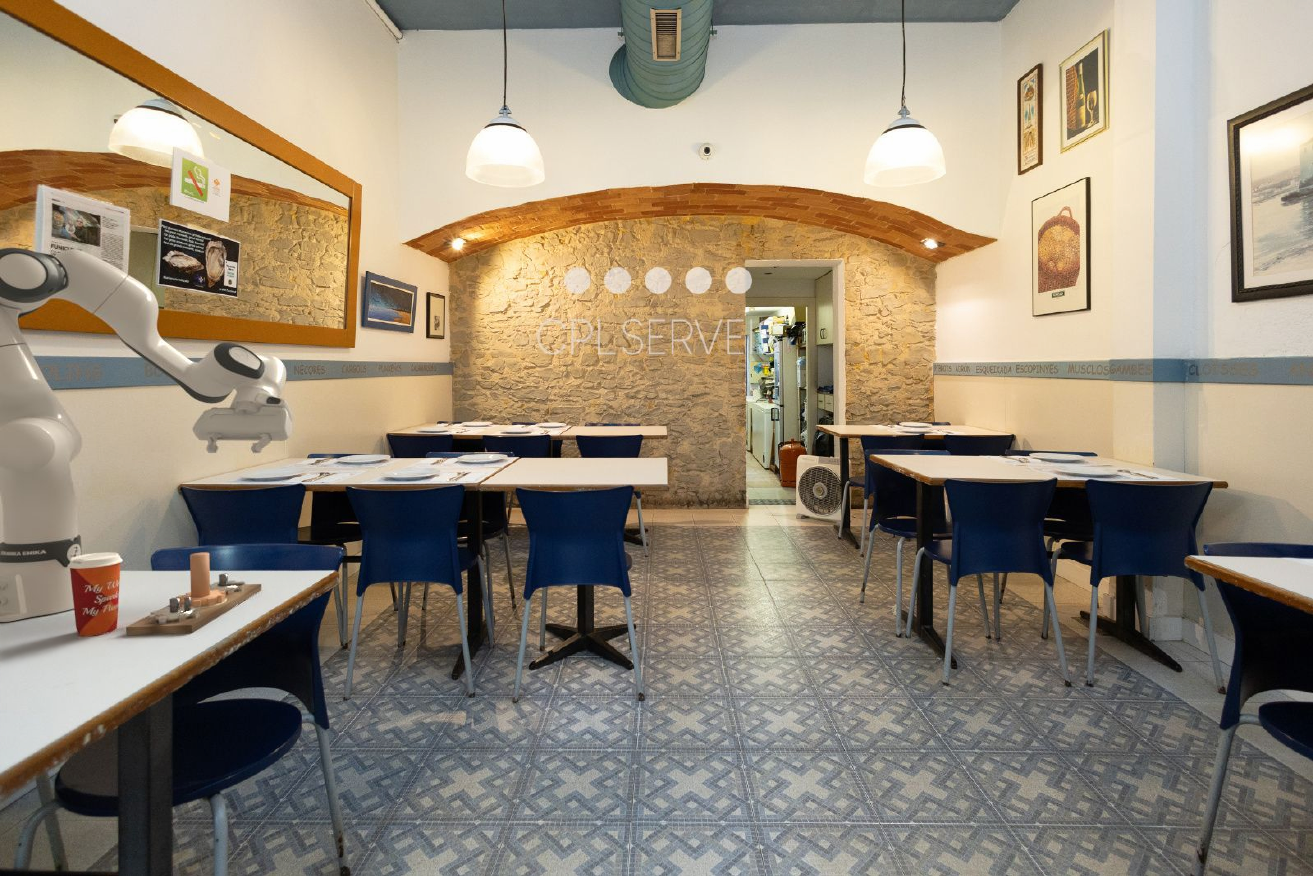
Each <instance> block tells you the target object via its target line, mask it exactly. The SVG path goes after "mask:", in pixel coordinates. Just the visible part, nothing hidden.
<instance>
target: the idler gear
mask: <svg viewBox="0 0 1313 876" xmlns="http://www.w3.org/2000/svg"><path fill="white" fill-rule="evenodd" d="M189 559H190V561H189V563H190V564H189V565H190V567H189V568H190V570H189V571H190V592H186V593H185V594H180V595H177V596H176V597H179V598H180V606H183V605H184V597H191V606H193V607H194V606H200V608H201V607H205V606H209V607H210V606H214V605H216V604H217V603H223V602H224V601H225V599H226V592H225V591H221V592H220V590H213V591H210V585H211V579H210V578H211V574H210V573H211V572H210V570H211V569H210V561H211V560H210V553H209V552H195V553H191V554H190V555H189Z"/></svg>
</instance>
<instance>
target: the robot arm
mask: <svg viewBox="0 0 1313 876" xmlns="http://www.w3.org/2000/svg"><path fill="white" fill-rule="evenodd" d="M51 299H60V300H65V301H68V302H71V303H73V304H76V305H78V306H80V307H81V308H82V309H84V310H85V311H88V312H89V313H91V314H93V315H94V316H96V317H98V318H99V319H100V320H102V321H103V322H105V324H107V325H108V326H109V327H110V328H112V329H113V330H114V332H115V333H116V334H117V336H118V339H119V340H120V341H121V342H122V343H123V344H124V345H125V346H126V347H127V348H129V349H130V350H131V351H132V352H134V353H135V354H136V355H138V356H139V357H141V358H142V359H143V360H144V361H146V362H147V363H148V364H150V365H151V366H153V367H155V368H156V369H157V370H159V371H160V372H162V373H163V374H164V375H166V376H167V377H169V378H170V379H171V380H173V381H174V382H175V383H177V384H178V386H180V387H181V388H182V389H183V391H184V392H185V393H187V394H188V395H189V396H190V397H191V398H192V399H195V400H196V401H198V402H201V403H205V404H210V405H211V404H212V405H213V404H220V403H222V402H223V401H225V400H226V399H227V398H228V397H229V396H230V395H231V393H232V392H233V391H234V390H235V391H236V393H235V395H234V397H233V400H232V402H231V404H230V406H229V407H217V406H215V407H211V408H210V409H206V410H204V411H203V412H202V413H201V415H200V416H199V417H198V419H197V420H196V422H195V423H194V424H193V425H192V426H193V427H192V432H193V434H194V435H195V436H196V438H197V440H199V441H207V443H208V444H207V446H206V451H207V453H209V454H216V453H217V451H219V446H218V445H217V442H218V441H229V442H230V441H235V442H238V441H241V442H242V441H246V442H247V441H250V442H251V441H257V442H253V443H252V444H251V445H252V446H251V447H250V450H251V452H252V454H260V453H262V450H263V449H264V448H265V447H267V446H268V445H270V443H271V441H272V442H273V441H274V442H276V441H277V442H285V441H286V440H288V439H289V438H290V436H291V435H292V430H293V422H292V421H293V420H294V415H293V411H292V409H291V407H290V405H289V403H288V401H287V400H286V399H284V398H282V397H280V396H281V395H282V393H283V390H284V387H285V384H286V382H287V381H286V380H287V369H286V366H285V364H284V363H283V362H282V360H280V359H279V358H278V357H276V356H273V355H271V354H265V353H264V354H258V353H255V352H253V351H251V350H250V349H248V348H247V347H245V346H244V345H243V346H242V345H241V344H238V343H235V342H229V341H228V342H220V343H218V344H217V345H215V347H213V348H212V349H211V350H210V351H209V352H208V353H206V354H205V356H204V357H203V358H202V359H201V360H199V361H197V362H195V361H193V360H190V359H189V358H188V357H186V356H185V355H184V354H182V353H181V352H180V351H179V350H177V349H175V347H173V346H172V345H170V344H169V343H168V342H166V341H165V340H164V339H163V338H162V337H161V335H160V333H159V331H158V319H159V304H158V303H159V302H158V299H157V298H156V296H155V294H154V292H153V291H152V290H151V289H150V288H149V287H148V286H146V285H145V284H143V282H141V281H139V280H138V279H136V278H134V277H133V276H131V275H128V273H126V272H124V271H123V270H122V269H120V268H118V267H116V266H114V265H113V264H111V263H110V262H106V261H105V260H103V259H101V258H99V257H97V256H95V255H94V254H93V255H92V254H90V253H88V252H86V251H84V250H81V249H76V248H74V249H73V248H72V249H71V248H70V249H66V250H63V251H60V252H58V253H56V254H55V255H53V254H48V253H43V252H38V251H33V250H30V249H25V248H20V247H19V248H18V247H4V248H0V499H1V509H2V530H3V531H2V534H3V541H1V542H0V623H7V622H8V623H9V622H13V621H19V620H23V619H24V620H25V619H27V618H33V617H38V616H45V615H51V614H55V613H56V614H57V613H61V612H65V611H69V610H74V603H73V593H72V583H71V574H70V568H68V567H67V566H68V564H70V560H71V558H73V557H76V556H80V555H82V552H83V551H82V538H81V537H82V536H81V535H80V534H79V525H78V524H79V523H78V522H79V521H78V518H79V516H78V498H77V494H76V492H75V487H74V483H73V479H72V472H71V464H70V463H71V462H72V461H74V459H76V457H77V456H78V455H79V454H80V452H81V450H82V445H83V438H82V435H81V433H80V431H79V430H78V428H77V427H76V425H75V423H74V422H73V420H72V419H71V416H70V415H69V414H68V412H67V411H66V409H65V407H64V406H63V403H61V401H60V400H59V398H58V397H57V396H56V394H55V393H54V390H53V389H52V388H51V386H50V385H49V383H48V382H47V380H46V378H45V376H44V375H43V372H42V370H41V368H40V367H39V365H38V363H37V361H36V358H35V357H34V355H33V352H32V351H31V349H30V347H29V345H28V343H27V341H26V338H24V335H23V334H22V332H21V330H20V327H19V321H18V319H20V318H22V317H24V316H27V315H30V314H32V313H34V312H35V311H37V310H38V309H39V308H41V307H42V306H43V305H45V304H46V303H47V302H48V301H49V300H51Z"/></svg>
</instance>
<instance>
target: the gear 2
mask: <svg viewBox="0 0 1313 876" xmlns="http://www.w3.org/2000/svg"><path fill="white" fill-rule="evenodd" d="M228 577H229V573H220V574H219V575H218V581H216V582H215V581H214V582H213V583H210V591H213V590H220V592H221V591H225V592H226V594H228V595H229V594H234V592H237V591H243V590H244V587H245V584H246V583H245V581H236V580H229V578H228Z"/></svg>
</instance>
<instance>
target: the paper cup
mask: <svg viewBox="0 0 1313 876" xmlns="http://www.w3.org/2000/svg"><path fill="white" fill-rule="evenodd" d="M122 562H123V559H122V558H121V555H120V554H119V553H118V552H109V551H107V552H106V551H105V552H104V551H103V552H94V553H86V554H85V553H84V554H81V555H80V556H76V557H73V558H71V560H70V564H68V566H67V567H68V568H70V574H71V583H72V593H73V603H74V608H73V610H74V620H75V621H74V622H75V627H76V635H77V636H79V637H94V636H95V637H96V636H100V635H105V634H108V633H107V632H109V633H111V631H112V632H114V631H116V630H117V628H118V617H119V599H120V579H121V577H120V576H121V563H122ZM115 629H116V630H115ZM113 630H114V631H113ZM104 633H105V634H104Z"/></svg>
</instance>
